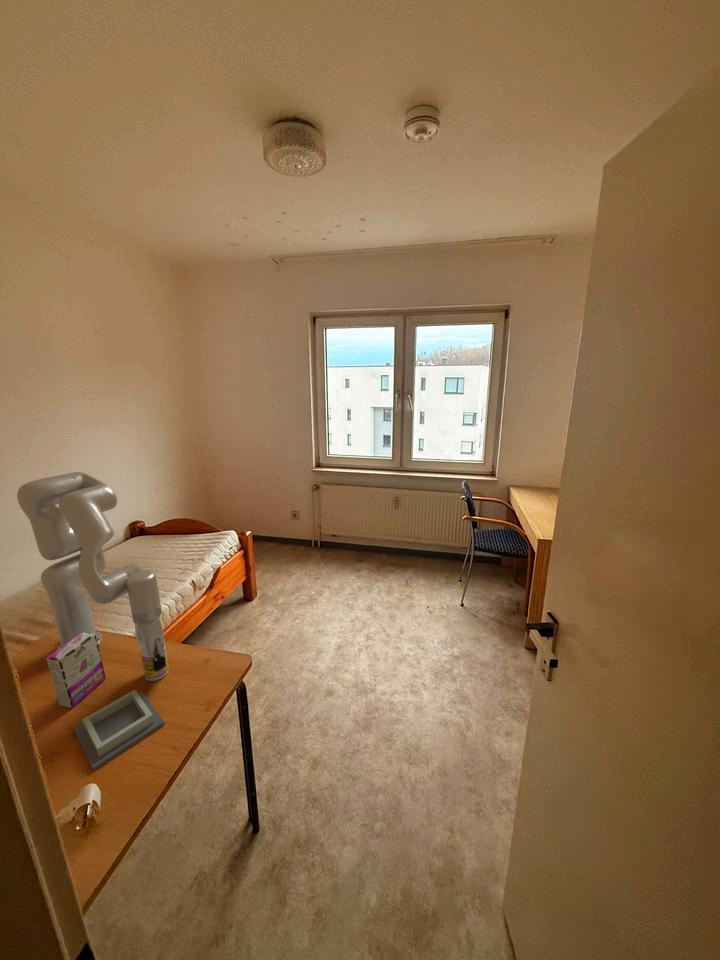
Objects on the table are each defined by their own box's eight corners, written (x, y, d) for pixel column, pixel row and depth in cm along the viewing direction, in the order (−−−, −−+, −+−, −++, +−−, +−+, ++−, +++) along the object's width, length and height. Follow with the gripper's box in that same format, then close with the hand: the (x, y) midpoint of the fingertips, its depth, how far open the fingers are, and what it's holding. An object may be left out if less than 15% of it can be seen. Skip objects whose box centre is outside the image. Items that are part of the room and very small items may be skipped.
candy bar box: (92, 676, 114) (82, 630, 109) (106, 678, 113) (97, 632, 108) (57, 706, 103) (44, 657, 99) (72, 709, 102) (60, 660, 98)
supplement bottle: (142, 684, 111) (135, 647, 107) (148, 668, 117) (142, 633, 114) (166, 679, 112) (160, 643, 109) (171, 664, 119) (165, 629, 115)
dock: (74, 730, 96) (71, 719, 95) (141, 692, 108) (139, 682, 107) (93, 771, 86) (90, 759, 85) (164, 724, 98) (162, 713, 97)
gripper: (122, 606, 112) (131, 656, 116) (144, 631, 101) (153, 684, 105) (148, 596, 117) (156, 643, 122) (172, 618, 106) (180, 669, 111)
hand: (155, 662), depth 114 cm, fingers closed on supplement bottle, 6 cm apart
